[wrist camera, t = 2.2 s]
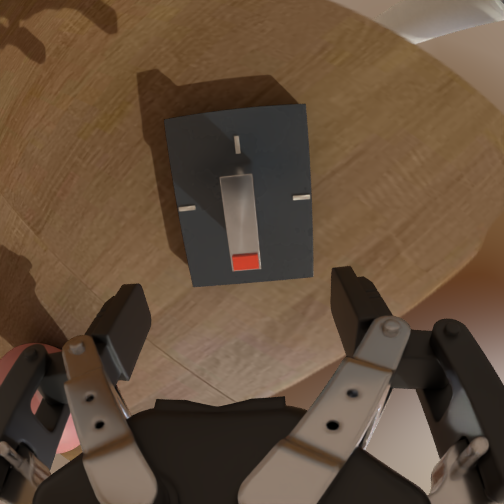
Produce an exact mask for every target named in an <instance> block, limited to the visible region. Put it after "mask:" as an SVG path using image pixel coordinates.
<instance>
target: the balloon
mask: <svg viewBox="0 0 504 504" xmlns="http://www.w3.org/2000/svg"><path fill="white" fill-rule="evenodd" d="M34 344H42V343H27V344H23V345H20V346H17V347H15V348H13V349H12V350H10V351H9V352H7V353H6V354H5V355H4V356H3V357H2V359H1V360H0V386H1V384H2V382H3V381H4V379H5V377H6V376H7V374H8V372H9V371H10V369H11V368H12V366H13V364H14V363H15V361H16V360H17V358H18V357H19V355H20V354H21V352H22V351H23V350H24V349H26V348H27V347H29V346H31V345H34ZM42 345H44V346H45V348H46V350H47V352H48V353H49V354H50V353H55V352H60V351H62V350H60V349H58V348H56V347H53V346H50V345H47V344H42ZM42 398H43V397H42V396H41V394H40V393H39V391H38V390H36V392H35V394H34V396H33V398H32V400H31V410H32V412H33V414H34V415H35V413H36V411H37V409H38V407H39V405H40V403H41V400H42ZM78 445H80V442H79V439H78V436H77V433H76V429H75V426H74V423H73V419H72V416H71V413H70V416H69V418H68V421H67V423H66V426H65V429H64V431H63V434H62V437H61V440H60V442H59V445H58V448H57V451H56V454H57V453H63V452H67V451H69V450H72V449H74V448H75V447H77V446H78Z"/></svg>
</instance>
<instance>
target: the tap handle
mask: <svg viewBox="0 0 504 504" xmlns="http://www.w3.org/2000/svg"><path fill="white" fill-rule="evenodd" d="M220 186H221V193H222V201H223V209H224V216H225V224H226V231H227V238H228V245H229V252H230V260H231V267H232V271H244V270H256V269H261V251H260V236H259V225H258V215H257V205H256V194H255V184H254V174H253V164H252V161H249V162H239V163H229V164H226V166H225V168H224V170H223V172H222V174H221V176H220Z"/></svg>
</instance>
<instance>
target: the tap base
mask: <svg viewBox="0 0 504 504" xmlns="http://www.w3.org/2000/svg"><path fill="white" fill-rule="evenodd" d="M164 124H165V132H166V139H167V146H168V153H169V160H170V166H171V172H172V179H173V185H174V191H175V197H176V202H177V208H178V214H179V219H180V225H181V230H182V235H183V240H184V245H185V250H186V255H187V260H188V265H189V270H190V275H191V279H192V284H193V287H201V286H215V285H228V284H240V283H252V282H264V281H275V280H287V279H297V278H308V277H313V226H312V196H311V175H310V157H309V141H308V127H307V115H306V104H288V105H272V106H259V107H248V108H238V109H229V110H221V111H213V112H206V113H199V114H193V115H187V116H181V117H175V118H169V119H165V120H164ZM249 161H252V164H253V174H254V184H255V194H256V205H257V215H258V225H259V236H260V251H261V269H256V270H244V271H232V267H231V260H230V252H229V245H228V238H227V231H226V224H225V216H224V209H223V201H222V193H221V186H220V176H221V174H222V172H223V170H224V168H225V166H226V164H229V163H239V162H249Z"/></svg>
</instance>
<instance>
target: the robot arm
mask: <svg viewBox="0 0 504 504" xmlns="http://www.w3.org/2000/svg"><path fill="white" fill-rule="evenodd" d="M501 1H502V2H503V3H504V0H501ZM331 311H332V315H333V318H334V321H335V324H336V327H337V329H338V332H339V335H340V338H341V341H342V344H343V347H344V350H345V353H346V357H345V358H344V359H343V361H342V363H341V364H340V365H339V367H338V368H337V370H336V371H335V373H334V374H333V376H332V377H331V379H330V380H329V382H328V383H327V385H326V386H325V387H324V389H323V390H322V392H321V393H320V395H319V396H318V397H317V399H316V400H315V401H314V403H313V404H312V406H311V407H310V408H309V410H308V411H307V410H305V409H302V408H297V407H293V406H286V404H285V396H283V397H271V398H256V399H249V400H245V401H241V402H237V403H233V404H228V405H224V406H219V407H216V406H210V405H206V404H201V403H196V402H192V401H188V400H164V399H156V403H155V407H154V408H153V409H148V410H145V411H142V412H139V413H137V414H135V415H133V416H132V415H131V413H130V411H129V409H128V407H127V405H126V403H125V401H124V399H123V397H122V395H121V393H120V390H119V389H118V387H117V385H116V384H117V382H118V380H124V381H129V380H130V377H131V374H132V372H133V369H134V367H135V364H136V362H137V359H138V356H139V354H140V351H141V349H142V347H143V344H144V342H145V339H146V337H147V334H148V332H149V329H150V327H151V314H150V311H149V308H148V304H147V301H146V298H145V295H144V292H143V289H142V286H141V285H140V284H124V285H122V286H121V288H120V289H119V291H118V292H117V294H116V295H115V296H113V297H112V298H110V299H109V300H108V301H107V302H105V304H104V305H103V307H102V308H101V310H100V312H99V313H98V314H97V317H96V318H95V319H94V321H93V322H92V324H91V325H90V327H89V328H88V330H87V331H86V333H85V335H79V336H76V337H74V338H72V339H70V340H69V341H67V342H66V343H65V345H64V346H63V348H62V351H60V352H55V353H50V354H49V353H48V352H47V350H46V348H45V346H44V345H42V344H34V345H31V346H29V347H27V348H26V349H24V350H23V351H22V352H21V354H20V355H19V357H18V358H17V360H16V361H15V363H14V364H13V366H12V368H11V369H10V371H9V372H8V374H7V376H6V377H5V379H4V381H3V382H2V384H1V386H0V504H504V385H503V383H502V382H501V380H500V378H499V377H498V375H497V373H496V372H495V370H494V368H493V367H492V365H491V363H490V362H489V360H488V359H487V357H486V355H485V354H484V352H483V351H482V350H481V348H480V346H479V345H478V343H477V342H476V340H475V339H474V338H473V336H472V334H471V333H470V332H469V330H468V329H467V327H466V326H465V325H464V324H463V323H461V322H459V321H457V320H453V319H442V320H439V321H438V322H436V323H435V324H434V327H433V330H432V331H421V330H412V329H411V328H410V326H409V324H408V323H407V322H406V321H405V320H403V319H401V318H399V317H396V316H393V315H392V313H391V312H390V310H389V308H388V307H387V305H386V303H385V302H384V300H383V299H382V297H381V295H380V294H379V292H378V291H377V289H376V287H375V286H374V284H373V283H372V282H371V281H370V280H368V279H367V278H365V277H364V276H363V277H357V276H356V274H355V273H354V271H353V269H352V268H351V266H345V267H336V268H332V273H331ZM394 388H404V389H416V392H417V395H418V397H419V400H420V402H421V405H422V408H423V411H424V413H425V416H426V419H427V422H428V424H429V427H430V430H431V433H432V436H433V439H434V442H435V445H436V448H437V451H438V455H439V457H440V461H439V462H438V463H437V464H436V466H435V467H434V468H433V471H432V474H431V491H430V493H429V495H428V496H427V495H426V493H425V492H424V491H423V490H422V489H421V488H420V487H418V486H417V485H416V484H414V483H413V482H411V481H409V480H408V479H406V478H405V477H403V476H402V475H400V474H399V473H397V472H396V471H394V470H393V469H391V468H390V467H388V466H387V465H385V464H384V463H383V462H381V461H380V460H378V459H377V458H375V457H374V456H372V455H371V454H369V453H368V452H367V451H365V448H366V446H367V444H368V443H369V441H370V439H371V436H372V434H373V432H374V430H375V428H376V425H377V423H378V422H379V419H380V417H381V415H382V413H383V411H384V409H385V407H386V405H387V403H388V401H389V398H390V396H391V394H392V392H393V389H394ZM36 390H38V391H39V393H40V394H41V396H42V397H43V398H42V400H41V403H40V405H39V407H38V409H37V411H36V413H35V415H34V414H33V412H32V410H31V400H32V398H33V396H34V394H35V392H36ZM70 413H71V416H72V419H73V423H74V426H75V429H76V433H77V436H78V439H79V442H80V445H81V448H82V451H83V452H82V453H81V454H80V455H78V456H77V457H76V458H74V459H73V460H71V461H70V462H69V463H67V464H66V465H65V466H63V467H62V468H60V469H59V470H57V471H56V472H55V473H53V474H52V475H51V473H50V469H51V465H52V463H53V460H54V457H55V454H56V451H57V448H58V445H59V442H60V440H61V437H62V434H63V431H64V429H65V426H66V423H67V421H68V418H69V416H70Z"/></svg>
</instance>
